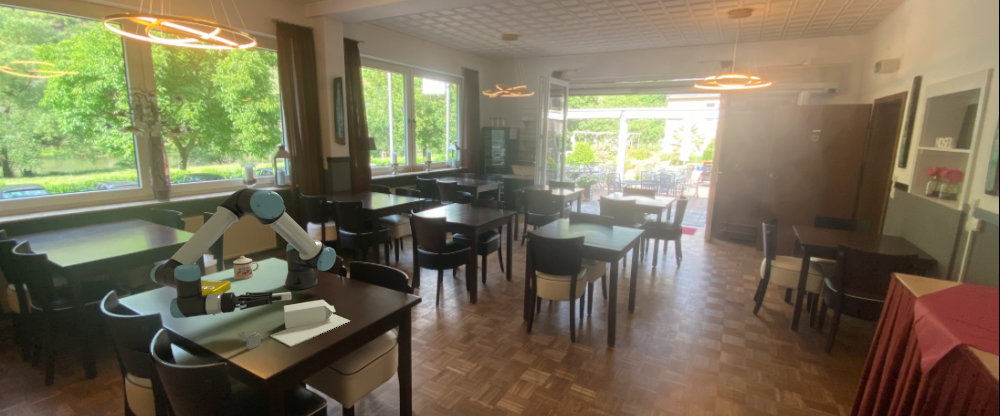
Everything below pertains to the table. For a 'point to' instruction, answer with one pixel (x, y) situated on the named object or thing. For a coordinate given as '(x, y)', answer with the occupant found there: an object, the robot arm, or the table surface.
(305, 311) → the milk carton
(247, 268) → the teacup with lid
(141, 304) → the table surface
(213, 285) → the element tile
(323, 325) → the mat
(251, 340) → the lighter
